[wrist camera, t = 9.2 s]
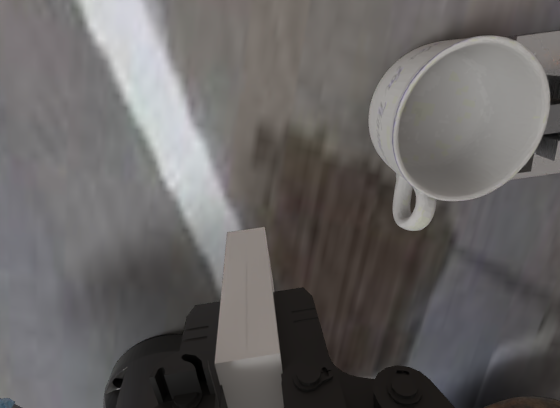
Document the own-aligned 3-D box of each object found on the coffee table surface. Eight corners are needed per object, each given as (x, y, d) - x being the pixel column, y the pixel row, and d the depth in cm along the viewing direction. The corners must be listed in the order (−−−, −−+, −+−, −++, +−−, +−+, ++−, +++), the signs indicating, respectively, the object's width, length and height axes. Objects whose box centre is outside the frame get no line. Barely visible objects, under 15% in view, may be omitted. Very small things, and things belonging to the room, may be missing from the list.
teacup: (407, 11, 28) (466, -3, 20) (509, 82, 30) (592, 92, 23) (315, 167, 32) (335, 202, 24) (411, 216, 35) (455, 261, 27)
